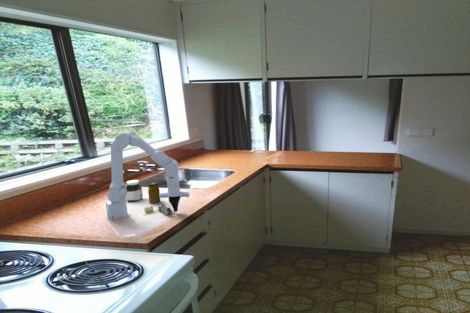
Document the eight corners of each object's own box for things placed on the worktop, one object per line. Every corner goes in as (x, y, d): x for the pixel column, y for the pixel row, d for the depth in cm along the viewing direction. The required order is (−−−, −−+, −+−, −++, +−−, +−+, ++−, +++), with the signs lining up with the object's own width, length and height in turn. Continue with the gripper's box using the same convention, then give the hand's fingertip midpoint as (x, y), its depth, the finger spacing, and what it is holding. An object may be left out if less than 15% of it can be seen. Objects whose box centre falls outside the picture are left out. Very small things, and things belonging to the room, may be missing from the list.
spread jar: (136, 203, 182) (134, 183, 180) (118, 203, 185) (116, 183, 183) (146, 196, 194) (144, 178, 192) (129, 196, 196) (127, 178, 194)
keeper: (145, 213, 163) (145, 208, 162) (144, 212, 164) (144, 207, 164) (153, 211, 165) (153, 206, 164) (152, 210, 166) (151, 206, 166)
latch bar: (157, 209, 166) (157, 203, 166) (163, 208, 168) (162, 202, 168) (166, 215, 157) (166, 209, 156) (172, 214, 159) (172, 207, 158)
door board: (138, 226, 149) (137, 224, 149) (129, 218, 160) (129, 216, 160) (177, 215, 160) (177, 213, 160) (167, 208, 171) (166, 206, 171)
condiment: (150, 202, 183) (147, 182, 181) (165, 201, 184) (163, 181, 182) (147, 206, 176) (145, 185, 174) (163, 205, 177) (161, 184, 175)
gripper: (189, 181, 161) (191, 207, 164) (160, 183, 162) (163, 208, 164) (186, 185, 154) (189, 212, 157) (157, 187, 155) (159, 213, 157)
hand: (175, 211), depth 160 cm, fingers closed
